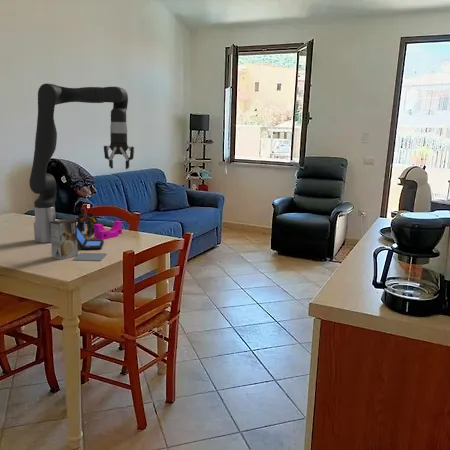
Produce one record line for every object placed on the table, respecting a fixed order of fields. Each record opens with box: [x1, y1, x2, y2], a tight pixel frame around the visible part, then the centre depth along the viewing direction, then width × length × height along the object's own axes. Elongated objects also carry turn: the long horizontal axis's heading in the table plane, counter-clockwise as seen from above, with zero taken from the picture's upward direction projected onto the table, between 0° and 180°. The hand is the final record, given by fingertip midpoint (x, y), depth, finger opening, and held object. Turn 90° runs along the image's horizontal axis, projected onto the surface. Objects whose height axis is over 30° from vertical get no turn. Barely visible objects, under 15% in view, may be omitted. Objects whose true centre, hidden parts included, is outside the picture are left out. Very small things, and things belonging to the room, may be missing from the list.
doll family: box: [76, 207, 99, 239], centre depth 235 cm, size 23×9×13 cm, turn 50°
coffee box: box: [50, 218, 79, 260], centre depth 192 cm, size 9×6×16 cm
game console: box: [77, 227, 105, 251], centre depth 212 cm, size 16×14×9 cm
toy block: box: [93, 220, 123, 240], centre depth 231 cm, size 15×6×8 cm, turn 142°
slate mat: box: [72, 252, 108, 262], centre depth 194 cm, size 12×11×1 cm
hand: (119, 168), depth 206 cm, fingers open, 6 cm apart
